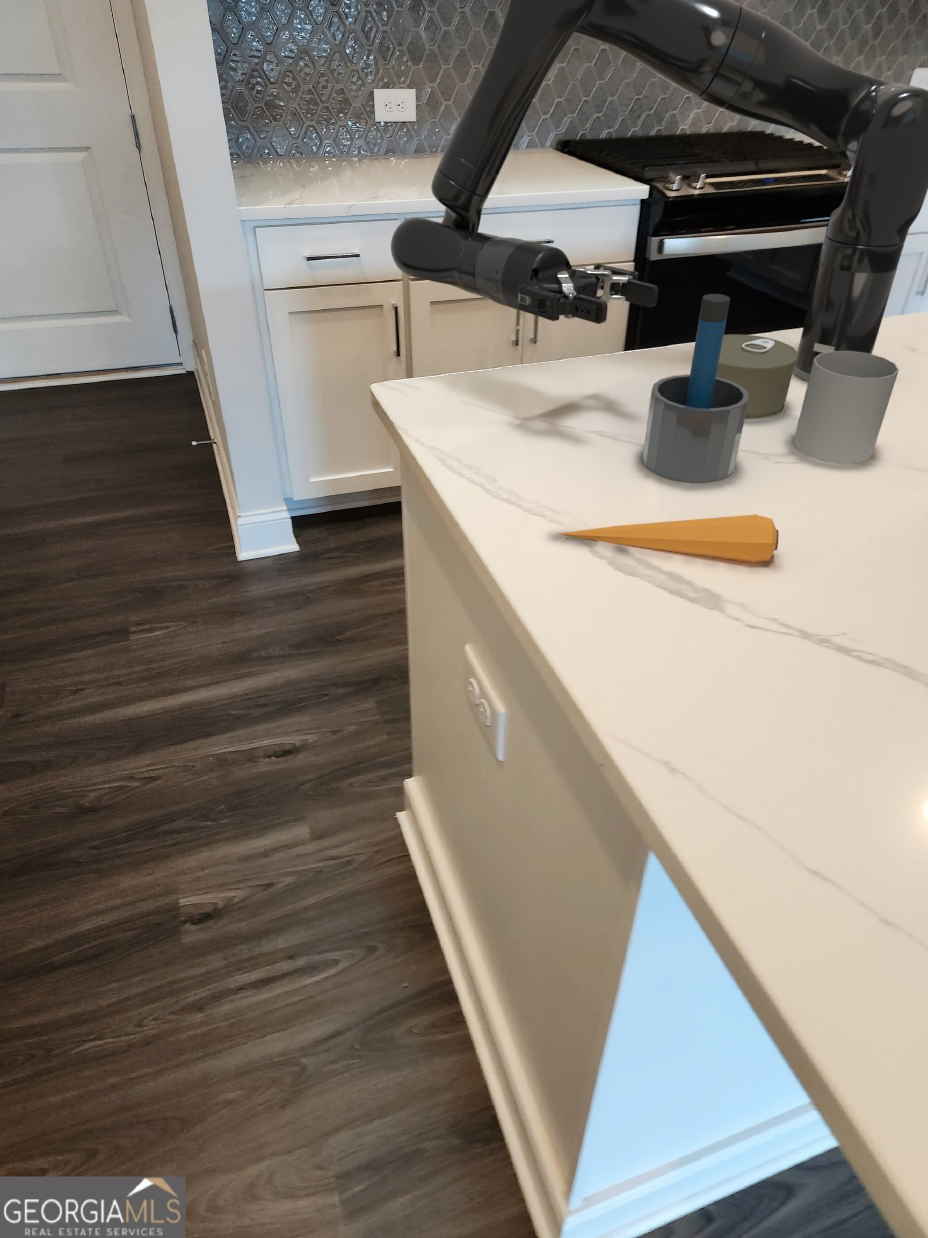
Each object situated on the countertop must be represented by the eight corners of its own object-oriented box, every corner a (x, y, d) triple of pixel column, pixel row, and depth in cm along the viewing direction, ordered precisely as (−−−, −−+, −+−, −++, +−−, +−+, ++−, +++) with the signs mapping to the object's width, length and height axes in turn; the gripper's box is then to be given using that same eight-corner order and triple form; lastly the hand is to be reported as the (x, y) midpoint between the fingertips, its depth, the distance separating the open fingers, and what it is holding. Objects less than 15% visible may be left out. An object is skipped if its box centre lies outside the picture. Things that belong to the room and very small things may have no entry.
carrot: (772, 560, 77) (776, 512, 76) (777, 569, 73) (782, 517, 72) (559, 553, 82) (560, 507, 81) (552, 560, 78) (553, 512, 76)
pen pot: (676, 438, 97) (687, 367, 91) (751, 466, 91) (768, 392, 86) (623, 464, 91) (632, 390, 86) (699, 496, 85) (714, 418, 80)
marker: (685, 454, 92) (712, 291, 82) (705, 461, 91) (735, 297, 80) (671, 461, 91) (697, 297, 80) (691, 469, 89) (720, 302, 79)
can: (668, 403, 105) (676, 349, 101) (720, 378, 112) (730, 327, 107) (753, 431, 98) (765, 375, 94) (803, 403, 105) (816, 349, 100)
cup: (876, 470, 90) (905, 381, 84) (797, 464, 91) (820, 375, 85) (863, 437, 96) (888, 352, 90) (789, 432, 98) (810, 348, 92)
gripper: (478, 251, 91) (590, 280, 82) (564, 231, 99) (676, 255, 89) (477, 320, 96) (584, 355, 86) (560, 296, 103) (666, 326, 94)
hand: (631, 304), depth 88 cm, fingers open, 8 cm apart
